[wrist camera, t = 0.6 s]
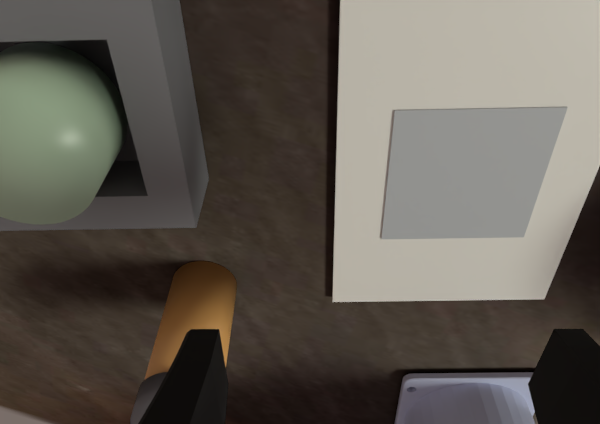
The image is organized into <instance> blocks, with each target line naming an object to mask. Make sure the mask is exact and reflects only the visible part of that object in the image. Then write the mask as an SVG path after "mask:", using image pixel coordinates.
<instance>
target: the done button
mask: <svg viewBox="0 0 600 424" xmlns="http://www.w3.org/2000/svg"><path fill="white" fill-rule="evenodd" d="M127 132H128V119H127V115H126V111H125V108H124V104H123V100H122V97H121V95H120V93H119V91H118V90H117V88H116V87H115V85H114V84H113V82H112V81H111V80H110V79H109V77H108V76H107V75H106V74H105V73H104V72H103V71H102V70H101V69H100V68H98V67H97V66H96V65H95V64H94V63H92V62H91V61H89V60H88V59H86V58H85V57H83V56H82V55H80V54H78V53H76V52H74V51H72V50H69V49H67V48H64V47H61V46H58V45H54V44H49V43H43V42H28V43H21V44H17V45H13V46H11V47H9V48H6V49H5V50H3V51H2V52H0V217H2V218H5V219H8V220H12V221H16V222H20V223H26V224H38V225H45V224H55V223H60V222H64V221H67V220H70V219H72V218H74V217H76V216H78V215H79V214H81V213H82V212H83V211H84V210H85V209H86V208H88V207H89V205H90V204H91V202H92V201H93V199H94V197H95V196H96V194H97V192H98V190H99V188H100V186H101V185H102V183H103V181H104V179H105V177H106V175H107V174H108V172H109V170H110V168H111V166H112V164H113V163H114V161H115V159H116V157H117V155H118V153H119V152H120V150H121V148H122V146H123V144H124V142H125V140H126V136H127Z"/></svg>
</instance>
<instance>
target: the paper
mask: <svg viewBox="0 0 600 424" xmlns="http://www.w3.org/2000/svg"><path fill="white" fill-rule="evenodd" d="M599 166H600V0H340V11H339V51H338V91H337V130H336V170H335V210H334V250H333V289H332V300H333V302H370V301H448V300H526V299H545V296H546V294H547V292H548V289H549V287H550V284H551V282H552V280H553V277H554V275H555V272H556V270H557V268H558V265H559V263H560V260H561V258H562V255H563V253H564V251H565V248H566V246H567V243H568V241H569V239H570V236H571V234H572V231H573V229H574V226H575V224H576V222H577V219H578V217H579V214H580V212H581V210H582V207H583V205H584V202H585V200H586V197H587V195H588V193H589V190H590V188H591V185H592V183H593V181H594V178H595V176H596V173H597V171H598V169H599Z"/></svg>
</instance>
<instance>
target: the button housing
mask: <svg viewBox="0 0 600 424" xmlns="http://www.w3.org/2000/svg"><path fill="white" fill-rule="evenodd" d="M28 42H43V43H49V44H54V45H58V46H61V47H64V48H67V49H69V50H72V51H74V52H76V53H78V54H80V55H82V56H83V57H85V58H86V59H88V60H89V61H91V62H92V63H94V64H95V65H96V66H97V67H98V68H100V69H101V70H102V71H103V72H104V73H105V74H106V75H107V76H108V77H109V79H110V80H111V81H112V82H113V84H114V85H115V87H116V88H117V90H118V91H119V93H120V95H121V97H122V100H123V104H124V108H125V111H126V115H127V119H128V132H127V136H126V140H125V142H124V144H123V146H122V148H121V150H120V152H119V153H118V155H117V157H116V159H115V161H114V163H113V164H112V166H111V168H110V170H109V172H108V174H107V175H106V177H105V179H104V181H103V183H102V185H101V186H100V188H99V190H98V192H97V194H96V196H95V197H94V199H93V201H92V202H91V204H90V205H89V207H88V208H86V209H85V210H84V211H83V212H82V213H81V214H79V215H78V216H76V217H74V218H72V219H70V220H67V221H64V222H60V223H55V224H45V225H38V224H26V223H20V222H16V221H12V220H8V219H5V218H2V217H0V231H14V230H79V229H144V228H196V227H197V223H198V219H199V215H200V211H201V207H202V203H203V200H204V196H205V192H206V188H207V184H208V180H209V177H208V171H207V165H206V158H205V152H204V146H203V140H202V134H201V128H200V122H199V116H198V110H197V104H196V98H195V92H194V86H193V80H192V74H191V67H190V61H189V55H188V49H187V43H186V37H185V31H184V25H183V19H182V13H181V7H180V1H179V0H0V52H2V51H3V50H5V49H6V48H9V47H11V46H13V45H17V44H21V43H28Z"/></svg>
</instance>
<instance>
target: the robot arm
mask: <svg viewBox="0 0 600 424" xmlns="http://www.w3.org/2000/svg"><path fill="white" fill-rule="evenodd" d="M227 393H228V379H227V373H226V367H225V361H224V355H223V349H222V343H221V337H220V331H219V329H191V330H189V331H188V332H187V333H186V335H185V337H184V340H183V342H182V344H181V346H180V348H179V350H178V352H177V355H176V357H175V359H174V361H173V363H172V365H171V366H170V368H169V370H168V372H167V374H166V376H165V378H164V380H163V381H162V383H161V385H160V387H159V389H158V391H157V392H156V394H155V396H154V398H153V399H152V401H151V403H150V404H149V406H148V408H147V409H146V411H145V413H144V415H143V416H142V418H141V420H140V421H139V423H138V424H225V416H226V405H227ZM534 413H535V414H536V417H537V421H538V424H600V346H599V345H598V344H597V343H596V342H595V341H594V340H593V339H592V338H591V337H590V336H589V335H588V334H587V333H586V332H585V331H584V330H583V329H554V330H553V333H552V335H551V337H550V339H549V341H548V343H547V345H546V347H545V349H544V351H543V354H542V356H541V358H540V360H539V362H538V364H537V366H536V368H535V370H534V372H500V373H412V374H407V375H405V376H404V377H403V379H402V385H401V390H400V396H399V401H398V407H397V412H396V418H395V423H394V424H535V422H534V420H533V415H534Z"/></svg>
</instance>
